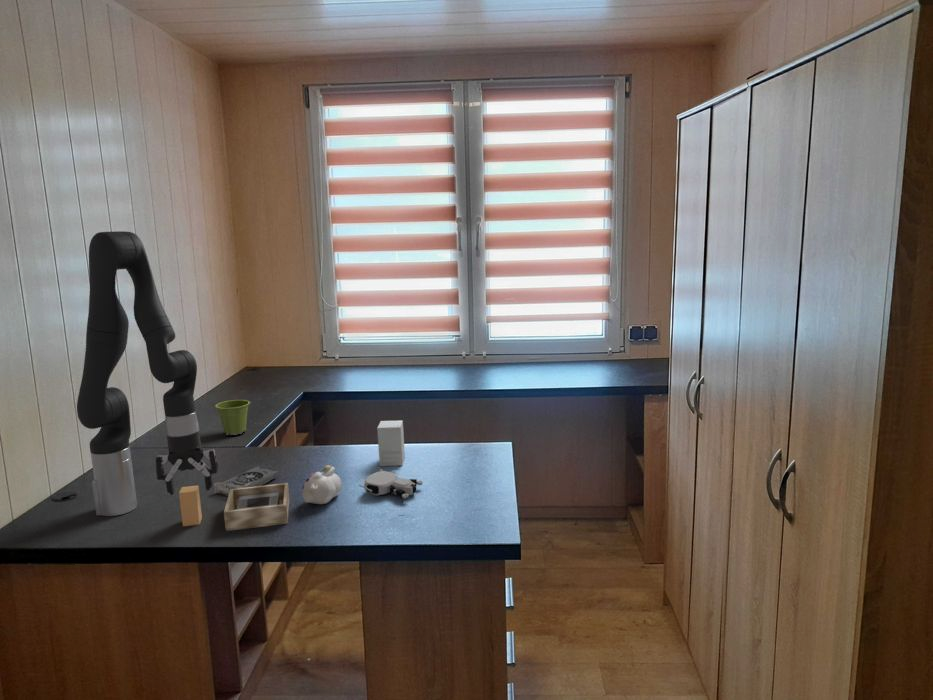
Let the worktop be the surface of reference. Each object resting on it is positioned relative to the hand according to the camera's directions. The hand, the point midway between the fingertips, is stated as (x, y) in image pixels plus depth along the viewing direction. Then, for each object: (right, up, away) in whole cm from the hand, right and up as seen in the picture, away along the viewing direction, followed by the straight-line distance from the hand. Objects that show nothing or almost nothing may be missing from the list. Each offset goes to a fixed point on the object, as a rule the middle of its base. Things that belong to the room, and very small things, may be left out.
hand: (190, 491), depth 170 cm
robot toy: (+49, -4, +17) cm, 52 cm away
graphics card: (+8, -4, +24) cm, 26 cm away
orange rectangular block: (0, -8, +2) cm, 8 cm away
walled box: (+16, -7, +5) cm, 18 cm away
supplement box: (+47, 0, +41) cm, 62 cm away
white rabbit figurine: (+31, -5, +13) cm, 34 cm away
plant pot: (-14, +5, +73) cm, 75 cm away
